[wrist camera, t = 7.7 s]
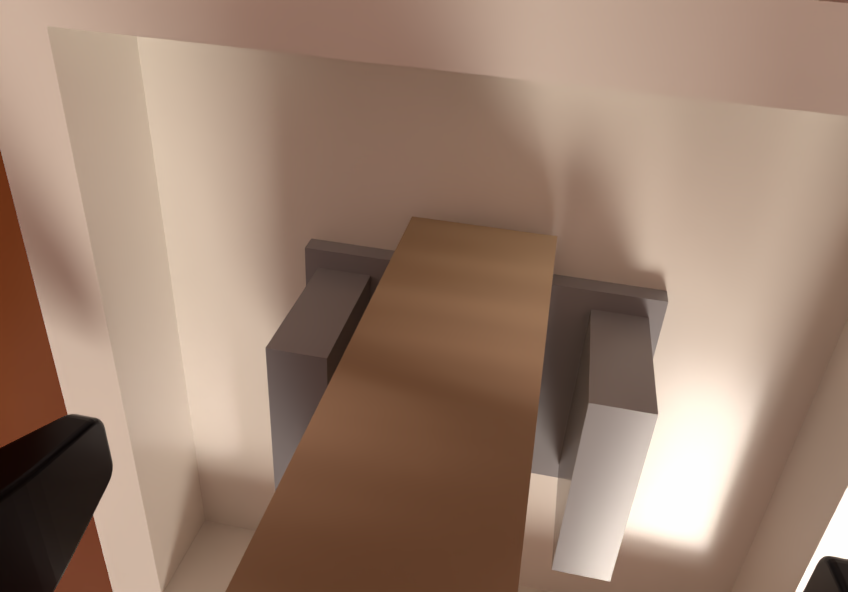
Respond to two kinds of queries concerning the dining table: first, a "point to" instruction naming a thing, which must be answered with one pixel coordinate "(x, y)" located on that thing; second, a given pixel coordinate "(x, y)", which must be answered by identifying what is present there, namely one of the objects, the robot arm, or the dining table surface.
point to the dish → (463, 203)
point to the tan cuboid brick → (420, 428)
